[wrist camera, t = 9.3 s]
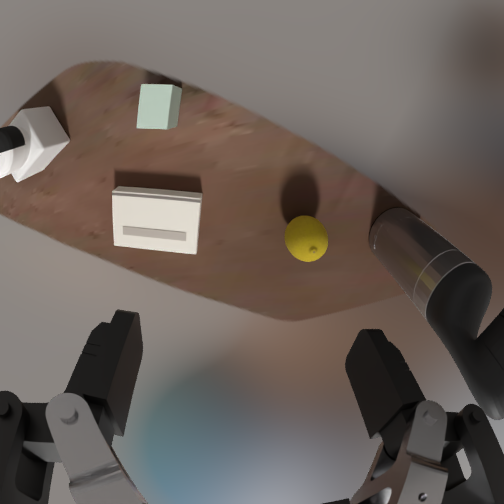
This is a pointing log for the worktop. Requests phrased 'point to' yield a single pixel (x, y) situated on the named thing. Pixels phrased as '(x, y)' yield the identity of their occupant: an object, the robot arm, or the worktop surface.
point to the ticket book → (156, 219)
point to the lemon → (306, 238)
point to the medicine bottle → (30, 142)
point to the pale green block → (158, 106)
